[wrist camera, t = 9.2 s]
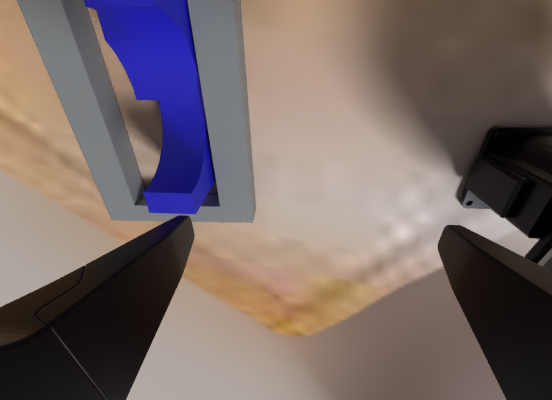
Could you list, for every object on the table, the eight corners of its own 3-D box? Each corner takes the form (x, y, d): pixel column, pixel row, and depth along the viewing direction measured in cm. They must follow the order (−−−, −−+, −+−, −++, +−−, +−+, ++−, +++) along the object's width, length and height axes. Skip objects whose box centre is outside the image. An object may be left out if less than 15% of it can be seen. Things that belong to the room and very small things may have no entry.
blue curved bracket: (121, -12, 15) (34, -41, 10) (195, -13, 15) (145, -43, 10) (166, 172, 21) (126, 212, 16) (219, 173, 21) (195, 214, 16)
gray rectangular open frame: (234, -82, 13) (225, -101, 12) (255, 209, 23) (252, 222, 21) (18, -70, 14) (-20, -85, 12) (124, 207, 23) (111, 220, 22)
